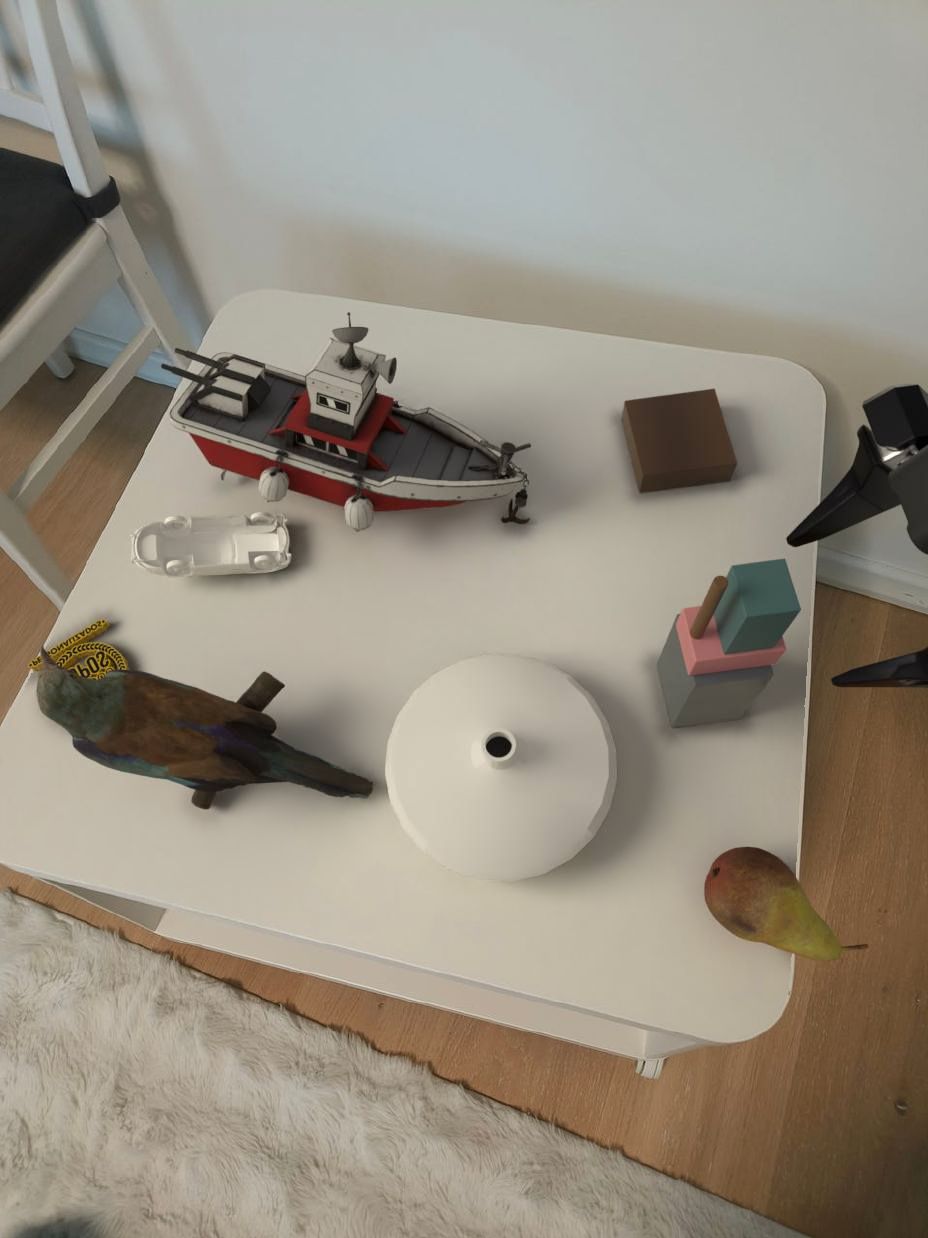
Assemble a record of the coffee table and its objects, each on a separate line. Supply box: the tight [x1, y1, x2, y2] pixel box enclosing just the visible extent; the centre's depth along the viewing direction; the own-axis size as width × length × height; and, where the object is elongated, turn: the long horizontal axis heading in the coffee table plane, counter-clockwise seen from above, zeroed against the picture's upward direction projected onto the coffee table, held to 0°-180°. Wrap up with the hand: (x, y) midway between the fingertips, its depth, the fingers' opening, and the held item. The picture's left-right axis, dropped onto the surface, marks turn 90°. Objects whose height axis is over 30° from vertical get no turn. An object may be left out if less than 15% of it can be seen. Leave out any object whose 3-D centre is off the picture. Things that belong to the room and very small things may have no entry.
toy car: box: [129, 511, 292, 578], centre depth 67 cm, size 5×12×4 cm, turn 99°
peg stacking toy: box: [676, 558, 802, 676], centre depth 49 cm, size 6×4×10 cm, turn 97°
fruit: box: [703, 846, 870, 963], centre depth 53 cm, size 6×6×12 cm
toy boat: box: [160, 312, 532, 532], centre depth 65 cm, size 13×30×17 cm, turn 73°
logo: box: [27, 618, 131, 680], centre depth 65 cm, size 7×1×8 cm
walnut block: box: [621, 388, 738, 494], centre depth 69 cm, size 8×8×2 cm
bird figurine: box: [36, 645, 374, 811], centre depth 57 cm, size 13×10×20 cm
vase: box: [384, 653, 618, 882], centre depth 57 cm, size 16×16×7 cm
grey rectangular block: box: [656, 613, 775, 729], centre depth 58 cm, size 5×5×9 cm
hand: (811, 610), depth 50 cm, fingers open, 9 cm apart
